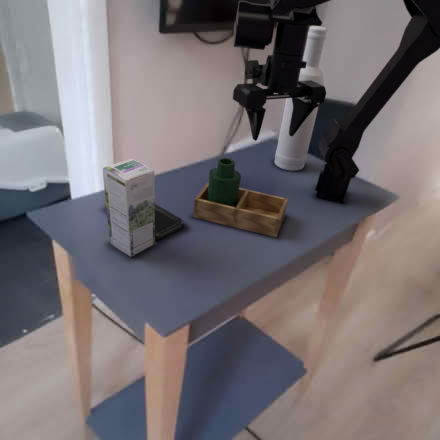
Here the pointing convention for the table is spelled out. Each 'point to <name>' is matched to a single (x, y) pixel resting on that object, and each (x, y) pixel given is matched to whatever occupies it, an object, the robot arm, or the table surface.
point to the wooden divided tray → (244, 211)
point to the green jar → (224, 183)
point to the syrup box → (130, 206)
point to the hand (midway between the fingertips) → (273, 137)
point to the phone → (166, 223)
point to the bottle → (299, 143)
